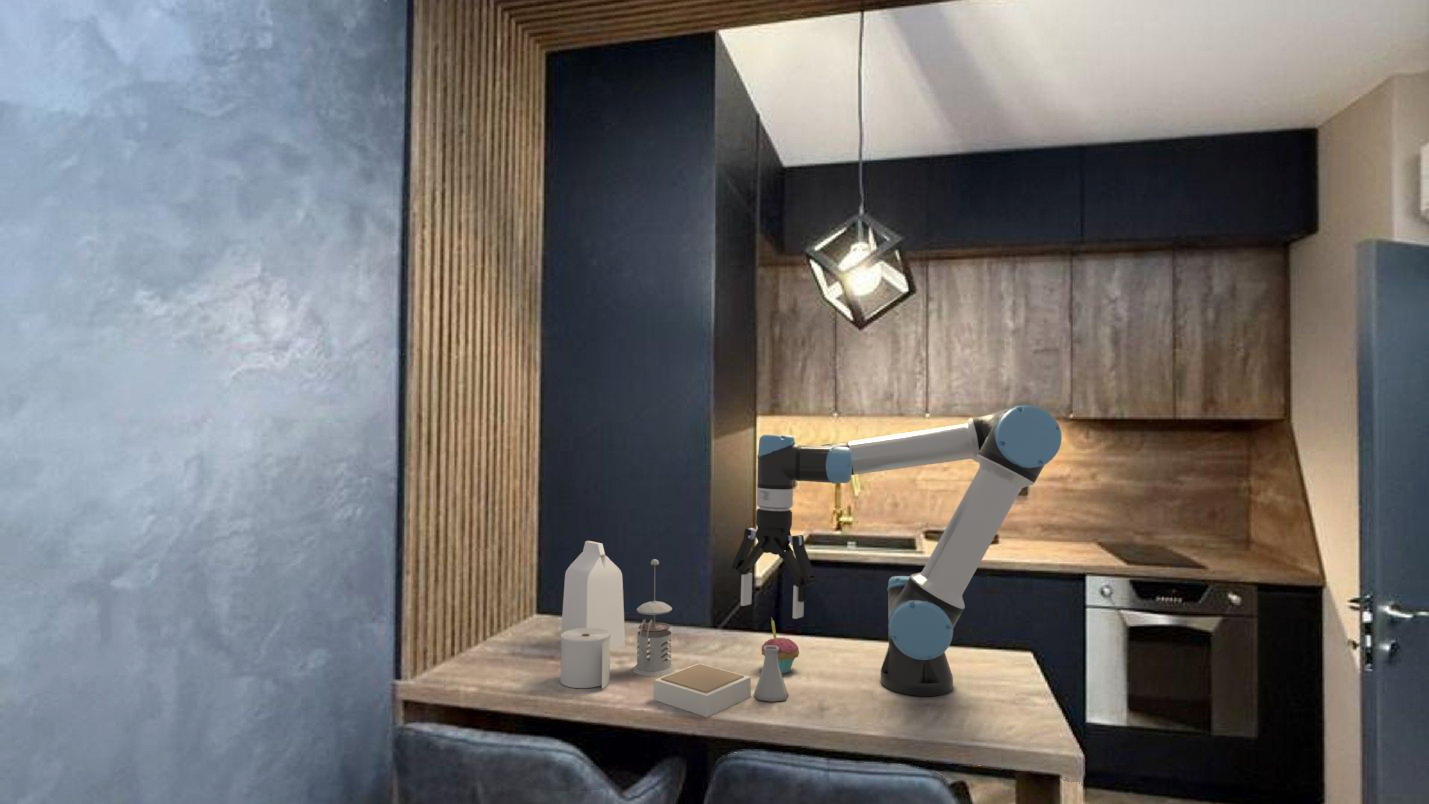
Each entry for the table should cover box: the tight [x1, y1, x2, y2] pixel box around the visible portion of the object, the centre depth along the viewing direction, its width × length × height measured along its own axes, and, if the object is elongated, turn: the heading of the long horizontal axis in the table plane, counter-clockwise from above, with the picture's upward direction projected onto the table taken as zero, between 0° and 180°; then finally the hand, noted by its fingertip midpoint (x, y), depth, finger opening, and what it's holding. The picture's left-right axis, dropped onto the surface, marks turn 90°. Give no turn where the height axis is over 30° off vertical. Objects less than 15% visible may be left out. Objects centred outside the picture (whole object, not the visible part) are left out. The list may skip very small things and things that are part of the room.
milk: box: [560, 540, 626, 651], centre depth 187 cm, size 12×12×26 cm
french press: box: [632, 558, 676, 677], centre depth 168 cm, size 10×12×25 cm
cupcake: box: [761, 617, 800, 674], centre depth 168 cm, size 9×8×12 cm
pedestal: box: [653, 663, 752, 718], centre depth 150 cm, size 14×14×4 cm
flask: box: [753, 645, 789, 703], centre depth 152 cm, size 7×7×10 cm
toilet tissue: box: [560, 628, 611, 690], centre depth 161 cm, size 11×12×10 cm
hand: (771, 611), depth 153 cm, fingers open, 13 cm apart
